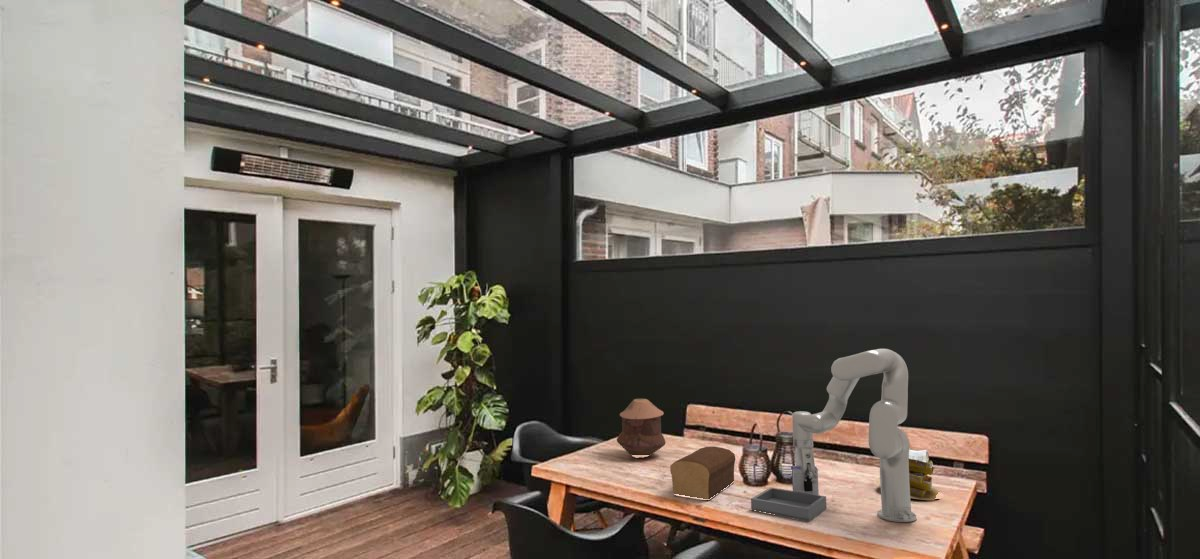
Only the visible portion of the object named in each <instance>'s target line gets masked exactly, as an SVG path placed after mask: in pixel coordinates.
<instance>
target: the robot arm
mask: <svg viewBox="0 0 1200 559" xmlns="http://www.w3.org/2000/svg"><path fill="white" fill-rule="evenodd" d="M830 368H831V369H830V370H831V371H830V372H831V374H832V377H831V379H830V381H829V382H828V384H827V386H826V392H827V393H828V400H827V402H826V405H825V407H824V409H823V410H822V411H820V412H817V413H813V414H811V412H809V411H801V410H799V411H794V412H793V413H792V416H791V418H792V420H791V421H792V436H793V437H792V440H793V442H792V443H793V448H794V450H795V452H794V459H795V464H796V466H797V467H799V468H800V469H801V472H802V473H803V474H804V480H805V481H804V491H805V492H807V491H813V487H812V476H813V474H814V473H815V456H814V449H813V448H814V436H813V435H814V434H818V435H820V434H824V433H826V432H830V431H831V430H833V429H835V428H836V427H837V425H838V424H839V422H841V419H842V418H843V416H844V414H845V411H846V408H847V405H848V400H849V397H850V396H851V394H852V392H853V390H854V388H855V387H856V385H857V383H858V382H859V381H860V378H864V377H867V376H872V375H877V374H881V373H882V374H883V379H882V383H881V399H880V400H879V401H877V402H875V403H874V404H872V407H871V408H870V412H869V418H868V420H869V421H868V422H869V423H868V447H869V450H870V452H871V453H872V454H873V456H874V457H876V458H878V459H879V477H880V485H881V487H880V502H881V503H880V504H881V508H880V509H878V510H877V511H876V512H877V516H878V517H879V518H880V519H882V520H884V521H889V522H894V523H911V522H914V521H916V520H917V514H915V513H914V512H913V511H912V503H911V498H910V483H909V449H910V439H909V436H908V435H907V433H906V432H905V431H904V430H903V429H902V428H899V427H898V426H899V425H901V424H902V423H904V422H905V421H906V420H907V418H908V404H909V403H908V402H909V401H908V398H909V396H908V395H909V392H908V391H909V390H908V389H909V388H908V387H909V370H908V367H907V364H906V362H905V360H904V358H903V356H901V355H900V354H899V353H897V352H895V351H893V350H891V349H889V348H877V349H871V350H867V351H866V350H865V351H863V352H859V353H856V354H852V355H848V356H847V355H846V356H844V357H839V358H837V359H836V360H834V361H833V363H832V365H831V367H830ZM807 471H808V473H806V472H807ZM806 475H807V477H806Z"/></svg>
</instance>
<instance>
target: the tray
mask: <svg viewBox="0 0 1200 559" xmlns="http://www.w3.org/2000/svg"><path fill="white" fill-rule="evenodd" d="M750 509H752V510H756V511H761V512H766V513H771V514H775V515H774V516H776V515H780V516H779V517H781V516H784V517H783V518H786V517H789V518H788V519H791V518H794V519H793V520H796V519H798V520H797V521H802V522H808V523H809V521H810V522H811V521H812V520H814V519H815V518H816V517H817V516H819V515H820V514H822V513H823V512H824V511H825V510H827V496H825V495H814V494H808V493H802V492H796V491H793V490H788V489H783V488H777V487H769V488H767V489H766V490H764V491H762V492H760V493H758V494H757V495H754V496H753V497H751V498H750Z"/></svg>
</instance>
